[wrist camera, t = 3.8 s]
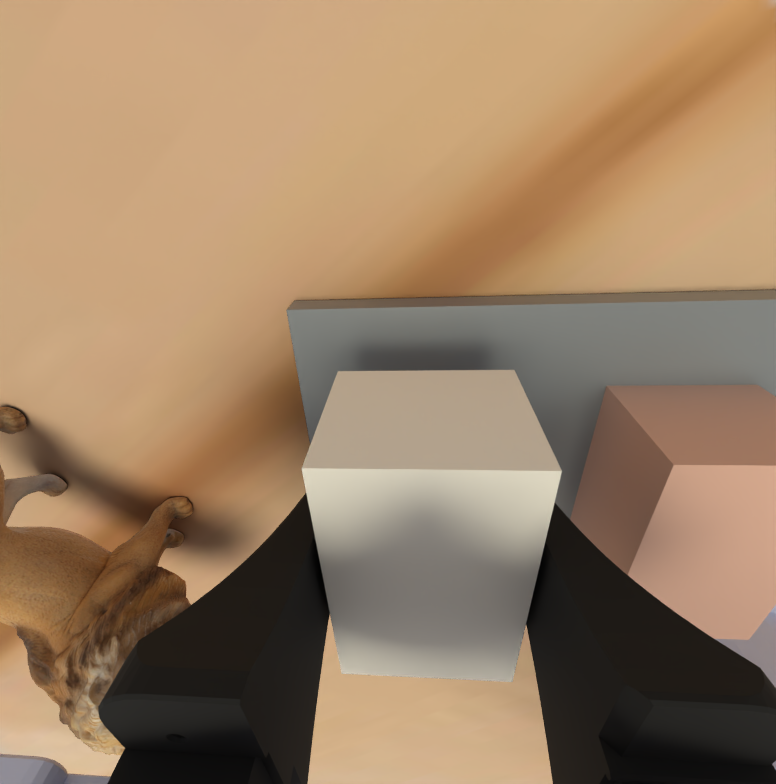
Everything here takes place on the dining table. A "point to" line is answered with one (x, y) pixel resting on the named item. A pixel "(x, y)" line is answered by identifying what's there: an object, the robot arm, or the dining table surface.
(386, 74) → the dining table surface
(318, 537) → the cream brick
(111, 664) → the lion figurine
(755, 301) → the baseplate
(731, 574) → the terracotta brick
